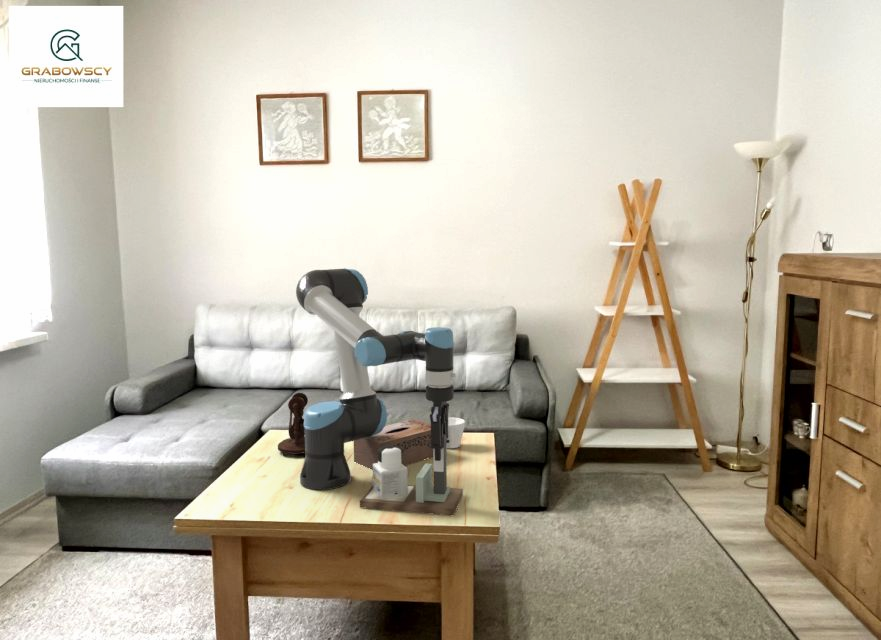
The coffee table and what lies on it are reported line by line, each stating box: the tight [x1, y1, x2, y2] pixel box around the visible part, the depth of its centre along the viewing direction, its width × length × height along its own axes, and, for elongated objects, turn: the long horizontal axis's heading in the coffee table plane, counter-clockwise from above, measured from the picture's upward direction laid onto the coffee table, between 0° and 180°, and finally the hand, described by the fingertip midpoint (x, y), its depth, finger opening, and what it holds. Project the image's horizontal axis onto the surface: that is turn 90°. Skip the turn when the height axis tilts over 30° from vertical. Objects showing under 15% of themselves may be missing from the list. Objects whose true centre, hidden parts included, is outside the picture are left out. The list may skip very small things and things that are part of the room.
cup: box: [446, 417, 466, 450], centre depth 225 cm, size 10×10×9 cm
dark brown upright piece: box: [277, 392, 309, 457], centre depth 220 cm, size 15×15×20 cm
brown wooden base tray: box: [359, 484, 464, 516], centre depth 177 cm, size 26×14×2 cm, turn 78°
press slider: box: [415, 434, 451, 503], centre depth 174 cm, size 8×11×17 cm
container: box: [372, 445, 409, 499], centre depth 177 cm, size 8×8×13 cm
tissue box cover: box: [353, 418, 433, 471], centre depth 212 cm, size 26×14×10 cm, turn 133°
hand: (440, 468), depth 174 cm, fingers closed on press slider, 3 cm apart
